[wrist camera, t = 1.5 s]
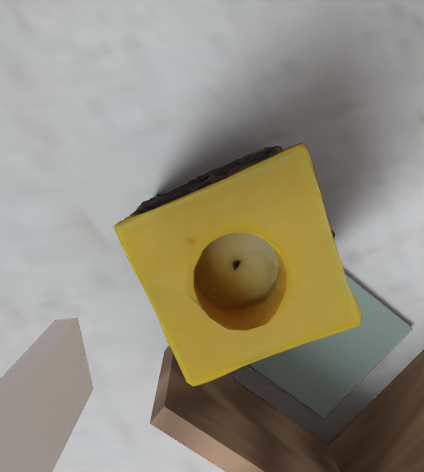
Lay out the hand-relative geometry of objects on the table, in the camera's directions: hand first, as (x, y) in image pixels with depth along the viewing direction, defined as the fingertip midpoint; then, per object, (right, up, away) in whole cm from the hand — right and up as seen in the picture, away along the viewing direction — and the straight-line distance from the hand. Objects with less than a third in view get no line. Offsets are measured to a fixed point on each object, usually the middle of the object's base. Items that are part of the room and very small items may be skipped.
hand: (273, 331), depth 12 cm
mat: (+7, -5, +17) cm, 19 cm away
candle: (-1, +4, +15) cm, 16 cm away
